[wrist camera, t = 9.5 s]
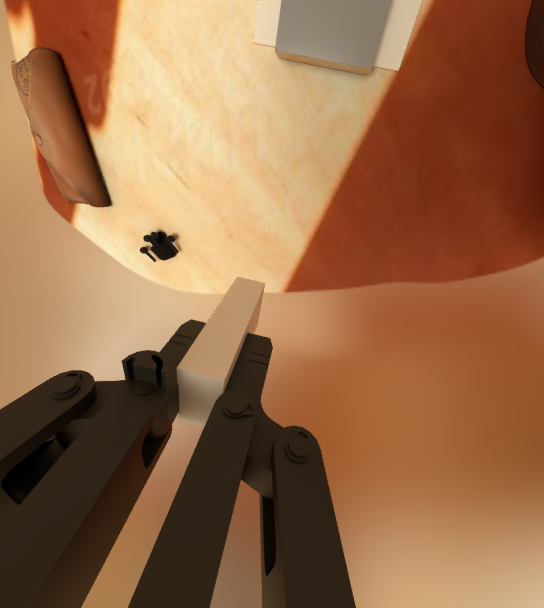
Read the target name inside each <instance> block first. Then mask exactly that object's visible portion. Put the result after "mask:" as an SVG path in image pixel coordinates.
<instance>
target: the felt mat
mask: <svg viewBox="0 0 544 608" xmlns="http://www.w3.org/2000/svg"><path fill="white" fill-rule="evenodd" d="M421 3H422V0H392V2H391V6H390V9H389V13H388V16H387V19H386V23H385V26H384V30H383V33H382V36H381V40H380V43H379V47H378V50H377V54H376V57H375V60H374V64H373V67H378V68H383V69H388V70H393V71H399V68H400V65H401V62H402V59H403V56H404V53H405V50H406V47H407V44H408V41H409V38H410V36H411V33H412V30H413V27H414V24H415V21H416V18H417V15H418V12H419V9H420V6H421ZM280 7H281V0H257V9H256V19H255V29H254V40H253V43H255V44H260V45H265V46H270V47H275V45H276V37H277V30H278V22H279V15H280Z"/></svg>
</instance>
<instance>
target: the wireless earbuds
mask: <svg viewBox="0 0 544 608" xmlns="http://www.w3.org/2000/svg"><path fill="white" fill-rule="evenodd" d="M143 239H144V241H146V242H150V243H151V244H152V245H153V246H152V247H151V250H152V251H153V252H154V253H155V254H156V255H157V256H158V257H159V258H160V259H161V260H167V259H170V258H172V257H174V256H175V255H176V253H178V252H179V251H178V250H177V249H176V247H175V246H174V245H173V244H172V243H171V242H174V241H175V238H174V237H173V236H171V235H169V236H168V237H167V241H168V242H167V241H166V240H165V239H166V235H165V233H163V232H158V233H156V232H152V233H151V236H150V235H145V236H144V238H143ZM140 252H141V253H144V254H145V253H146V254H147V255H148V256H149V257H150V258H151V259H152V260H153V261H154V262H156V259H155V258H154V257H153V256H152V255H151V254H150V253H149V252H148V249H147V248H146V247H142V248H140Z"/></svg>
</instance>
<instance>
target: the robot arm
mask: <svg viewBox="0 0 544 608" xmlns="http://www.w3.org/2000/svg"><path fill="white" fill-rule="evenodd" d="M526 52H527V59H528V63H529V66H530V69H531V71H532V73H533V75H534V77H535V79H536V80H537V81H538V82H539V84H540V85H541V86H542V87H544V0H534V1H533V4H532V7H531V11H530V15H529V19H528V25H527V33H526ZM264 287H265V283H262V282H258V281H254V280H249V279H245V278H241V277H237V278H236V279H235V281H234V282H233V284H232V285H231V287H230V288H229V290H228V291H227V293H226V294H225V296H224V298H223V299H222V301H221V302H220V304H219V305H218V307H217V308H216V310H215V311H214V313H213V314H212V316H211V318H210V319H209V320H208V322H207V323H204V322H200V321H195V320H190V321H188V322H186V323H184V324H182V325H181V326H180V327H179V329H178V330H177V331H176V332H175V334H174V335H173V336H172V337H171V339H170V340H169V342H167V344H166V345H165V346H164V347H163V349H162V350H161V351H160V352H156V351H150V350H146V351H139V352H136V353H134V354H131V355H129V356H128V357H126V358H125V359H124V360H122V364H123V369H124V374H125V379H126V380H120V381H94V378H93V376H92V375H90V373H88V372H85V371H81V370H73V371H68V372H64V373H60V374H58V375H56V376H54V377H52V378H50V379H49V380H47V381H45V382H44V383H42V384H40V385H39V386H37V387H36V388H34V389H32V390H31V391H29V392H28V393H26V394H25V395H23V396H21V397H20V398H18V399H16V400H15V401H13V402H12V403H10V404H9V405H7V406H5V407H3V408H2V409H0V608H81V607H82V605H83V603H84V601H85V599H86V597H87V595H88V593H89V591H90V589H91V588H92V585H93V584H94V582H95V580H96V578H97V576H98V574H99V572H100V570H101V568H102V566H103V565H104V563H105V561H106V559H107V557H108V555H109V553H110V551H111V549H112V547H113V545H114V544H115V542H116V540H117V538H118V536H119V534H120V532H121V530H122V528H123V526H124V524H125V522H126V521H127V519H128V517H129V515H130V513H131V511H132V509H133V507H134V505H135V503H136V501H137V499H138V498H139V496H140V494H141V492H142V490H143V488H144V486H145V484H146V482H147V480H148V478H149V477H150V475H151V473H152V471H153V469H154V467H155V465H156V463H157V461H158V459H159V457H160V455H161V453H162V451H163V449H164V448H165V446H166V444H167V442H168V440H169V438H170V436H171V433H172V423H173V421H174V420H175V418H176V416H177V414H179V421H182V422H186V423H189V424H193V425H197V426H201V427H204V429H203V431H202V434H201V436H200V439H199V441H198V443H197V446H196V448H195V450H194V453H193V455H192V458H191V460H190V462H189V465H188V467H187V469H186V472H185V474H184V477H183V479H182V481H181V483H180V486H179V488H178V490H177V493H176V495H175V498H174V500H173V502H172V505H171V507H170V510H169V512H168V514H167V517H166V519H165V521H164V524H163V526H162V528H161V531H160V533H159V535H158V538H157V540H156V543H155V545H154V547H153V550H152V552H151V554H150V557H149V559H148V562H147V564H146V566H145V569H144V571H143V573H142V576H141V578H140V580H139V583H138V585H137V587H136V590H135V592H134V594H133V597H132V599H131V602H130V604H129V606H128V608H210V604H211V600H212V595H213V591H214V587H215V583H216V579H217V575H218V571H219V567H220V563H221V558H222V555H223V550H224V546H225V542H226V538H227V534H228V530H229V526H230V522H231V517H232V514H233V510H234V505H235V501H236V497H237V493H238V489H239V485H240V481H241V480H243V481H244V482H245V483H247V484H248V485H249V486H250V487H252V488H253V489H254V490H256V491H257V492H258V493H259V494H260V530H261V571H262V608H356V606H355V602H354V597H353V593H352V589H351V584H350V579H349V576H348V571H347V566H346V562H345V557H344V553H343V548H342V544H341V540H340V535H339V531H338V526H337V521H336V517H335V512H334V508H333V503H332V499H331V494H330V490H329V485H328V481H327V477H326V472H325V467H324V463H323V459H322V454H321V450H320V447H319V444H318V442H317V440H316V438H315V437H314V436H313V435H312V434H311V433H310V432H309V431H307V430H306V429H304V428H302V427H298V426H289V427H285V428H283V427H282V426H280V425H279V424H277V423H275V422H274V421H273V420H271V419H270V418H269V417H268V416H267V415H266V414H265V412H264V410H263V408H262V405H261V394H262V390H263V386H264V382H265V378H266V374H267V369H268V365H269V361H270V357H271V352H272V349H273V347H272V343H271V340H270V338H267V337H263V336H259V335H255V334H254V333H255V330H256V327H257V324H258V319H259V313H260V308H261V303H262V298H263V292H264Z"/></svg>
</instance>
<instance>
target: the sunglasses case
mask: <svg viewBox="0 0 544 608" xmlns="http://www.w3.org/2000/svg"><path fill="white" fill-rule="evenodd" d="M11 66H12V74H13V77H14V81H15V84H16V87H17V90H18V93H19V96H20V98H21V101H22V104H23V106H24V109H25V111H26V114H27V116H28V119H29V121H30V129H31V132H32V134H33V137H34V139H35V141H36V144H37V146H38V148H39V151H40V152H41V154H42V155H43V156H44V157H45V159H46V161H47V163H48V166H49V168H50V171H51V173H52V175H53V177H54V179H55V181H56V183H57V186H58V188H59V190H60V192H61V194H62V195H63V197H64V198H65V200H66V201H67V202H68V203H70V204H76V203H83V204H89V205H91V206H93V207H109V206H111V205H110V201H109V197H108V195H107V192H106V190H105V187H104V185H103V183H102V180H101V177H100V175H99V173H98V169H97V167H96V164H95V162H94V160H93V157H92V154H91V151H90V148H89V145H88V142H87V139H86V136H85V133H84V130H83V128H82V125H81V122H80V120H79V116H78V113H77V110H76V107H75V104H74V101H73V98H72V95H71V92H70V90H69V87H68V83H67V80H66V77H65V74H64V71H63V69H62V65H61V62H60V59H59V57H58V55H57V52H56V51H54V50H51V49H47V48H35V49H32V50H31V51H30V52H29V54H28V55H27V56H26V57H25V58H23V59H22V60H21V61H19V62H16V60H14V61H12V63H11Z"/></svg>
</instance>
